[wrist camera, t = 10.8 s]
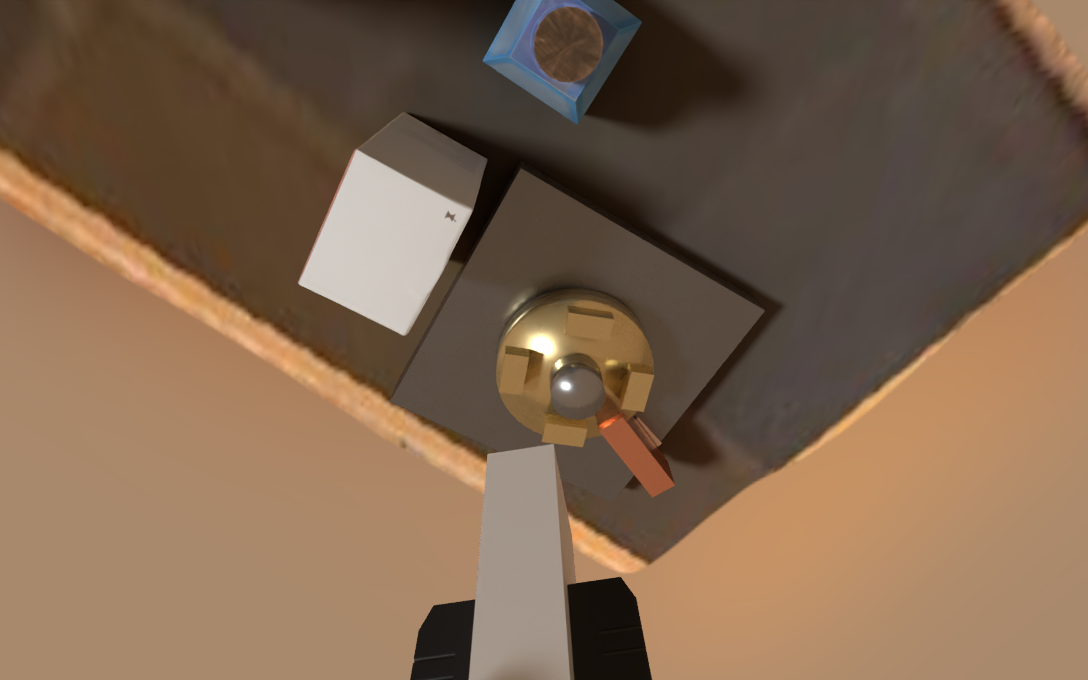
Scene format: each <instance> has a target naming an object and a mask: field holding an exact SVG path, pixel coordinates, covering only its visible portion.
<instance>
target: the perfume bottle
mask: <svg viewBox="0 0 1088 680" xmlns="http://www.w3.org/2000/svg"><path fill="white" fill-rule="evenodd" d="M641 23H642V21H641V20H639V19H638V18H637V17H635V16H634V15H632V14H631V13H630V12H628V11H627V10H626V9H624V8H623V7H622V6H620V5H619V4H618V3H616V2H615V1H614V0H516V1H515V3H514V4H513V6H512V8H511V10H510V12H509V14H508V15H507V17H506V19H505V21H504V23H503V25H502V26H501V28H500V30H499V32H498V34H497V36H496V37H495V39H494V41H493V43H492V45H491V47H490V48H489V50H488V52H487V54H486V56H485V57H484V59H483V62H484V63H486V64H487V65H489V66H490V67H492V68H493V69H495V70H496V71H498V72H499V73H501V74H502V75H504V76H505V77H507V78H508V79H510V80H511V81H513V82H514V83H516V84H517V85H519V86H520V87H522V88H523V89H525V90H526V91H528V92H529V93H531V94H532V95H534V96H535V97H537V98H538V99H540V100H541V101H543V102H544V103H546V104H547V105H549V106H550V107H551V108H553V109H554V110H556V111H557V112H559V113H560V114H562V115H563V116H565V117H566V118H568V119H569V120H571V121H572V122H574V123H575V124H577V125H578V124H579V122H580V120H581V119H582V117H583V116H584V114H585V112H586V111H587V109H588V108H589V106H590V104H591V103H592V101H593V100H594V98H595V97H596V95H597V93H598V92H599V90H600V89H601V87H602V85H603V84H604V82H605V81H606V79H607V77H608V76H609V74H610V73H611V71H612V70H613V68H614V66H615V65H616V63H617V62H618V60H619V58H620V57H621V55H622V54H623V52H624V50H625V49H626V47H627V46H628V44H629V42H630V41H631V39H632V38H633V36H634V35H635V33H636V31H637V30H638V28H639V27H640V25H641Z"/></svg>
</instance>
